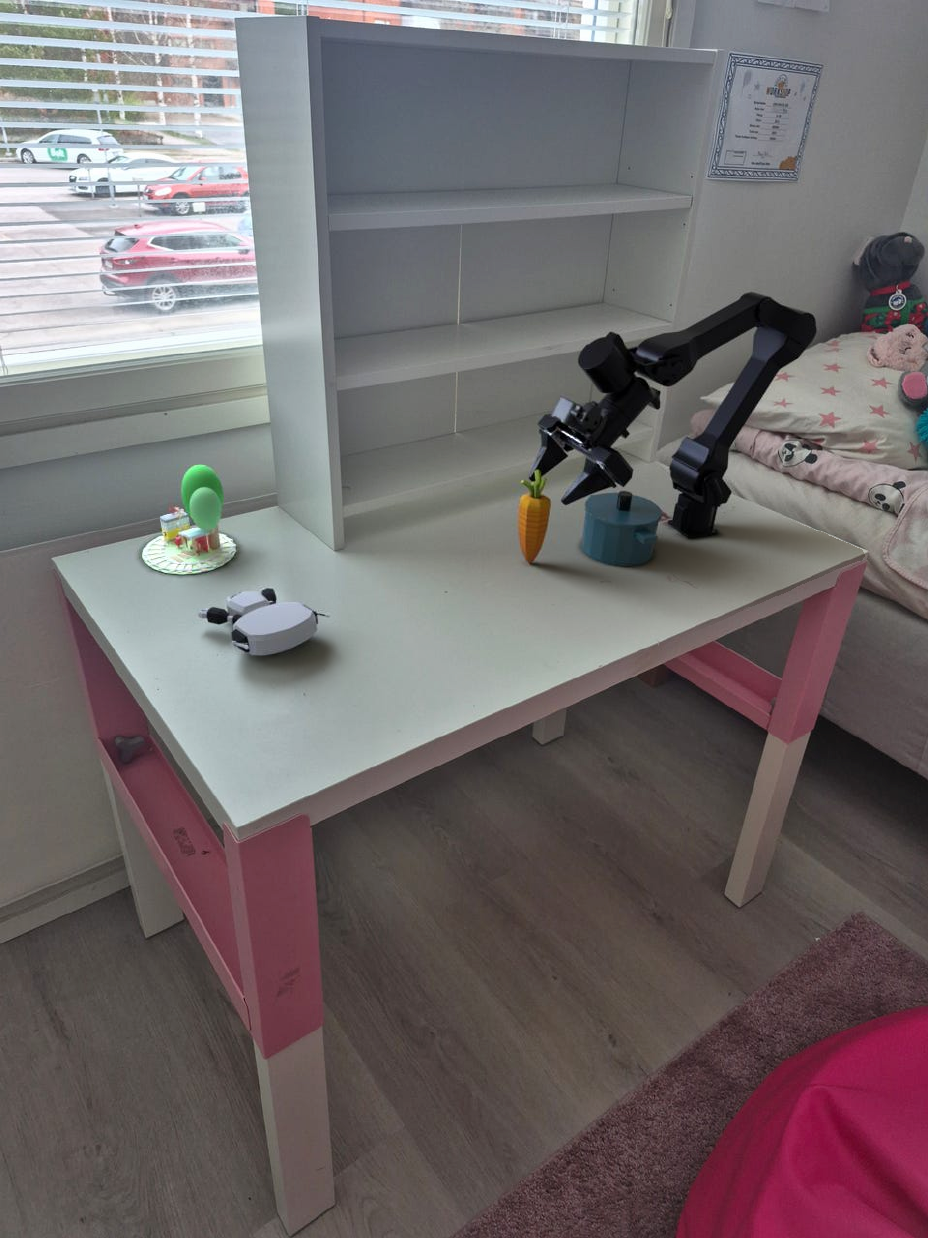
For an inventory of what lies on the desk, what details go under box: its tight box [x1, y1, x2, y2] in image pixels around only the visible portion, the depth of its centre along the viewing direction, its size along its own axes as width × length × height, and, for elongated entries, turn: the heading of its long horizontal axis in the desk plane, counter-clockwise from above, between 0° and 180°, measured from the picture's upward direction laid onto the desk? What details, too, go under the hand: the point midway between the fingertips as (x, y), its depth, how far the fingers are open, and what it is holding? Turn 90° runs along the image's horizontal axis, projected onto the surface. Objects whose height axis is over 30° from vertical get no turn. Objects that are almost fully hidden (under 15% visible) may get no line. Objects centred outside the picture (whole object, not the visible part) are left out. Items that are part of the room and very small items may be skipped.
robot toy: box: [197, 587, 331, 656], centre depth 113 cm, size 12×4×15 cm
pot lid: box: [584, 490, 663, 528], centre depth 137 cm, size 12×12×4 cm
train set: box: [141, 464, 237, 575], centre depth 130 cm, size 15×14×14 cm
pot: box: [581, 494, 660, 567], centre depth 139 cm, size 11×17×7 cm
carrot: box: [517, 470, 552, 564], centre depth 131 cm, size 5×5×15 cm
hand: (546, 491), depth 130 cm, fingers open, 9 cm apart
